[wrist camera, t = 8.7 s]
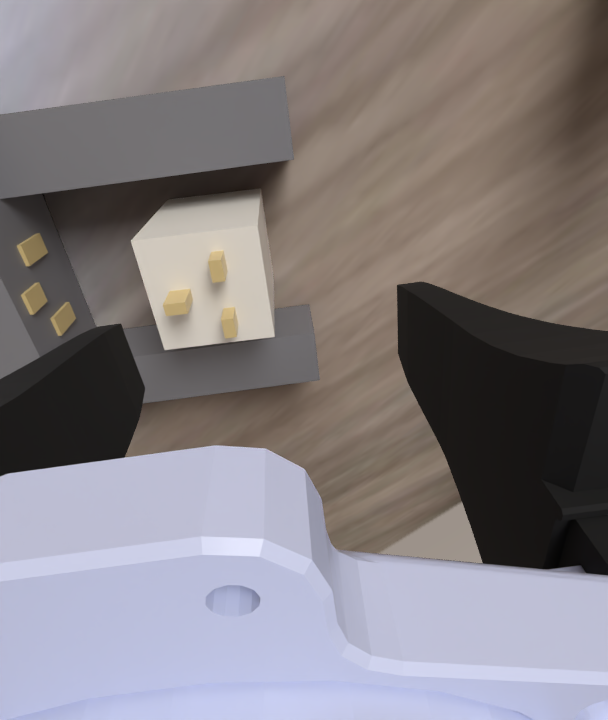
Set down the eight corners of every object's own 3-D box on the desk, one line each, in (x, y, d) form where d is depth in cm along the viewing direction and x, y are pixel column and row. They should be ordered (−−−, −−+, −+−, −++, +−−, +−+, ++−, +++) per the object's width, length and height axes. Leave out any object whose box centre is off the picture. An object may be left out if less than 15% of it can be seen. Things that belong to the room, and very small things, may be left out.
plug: (273, 276, 21) (274, 352, 15) (189, 286, 21) (157, 366, 15) (260, 188, 19) (256, 235, 13) (167, 199, 19) (120, 251, 13)
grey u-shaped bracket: (314, 347, 23) (324, 406, 19) (77, 379, 23) (34, 444, 19) (281, 77, 17) (285, 74, 13) (-42, 121, 17) (-146, 133, 13)
